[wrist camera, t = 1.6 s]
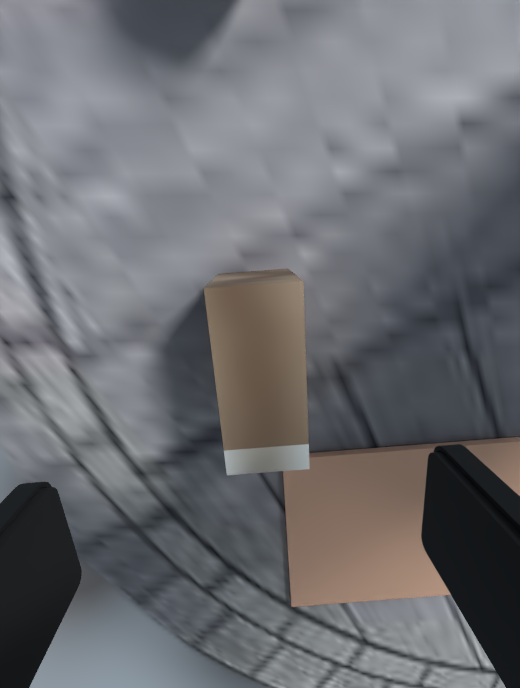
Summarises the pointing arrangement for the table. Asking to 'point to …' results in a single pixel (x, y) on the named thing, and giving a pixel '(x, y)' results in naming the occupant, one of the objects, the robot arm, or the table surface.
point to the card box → (260, 369)
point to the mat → (370, 521)
